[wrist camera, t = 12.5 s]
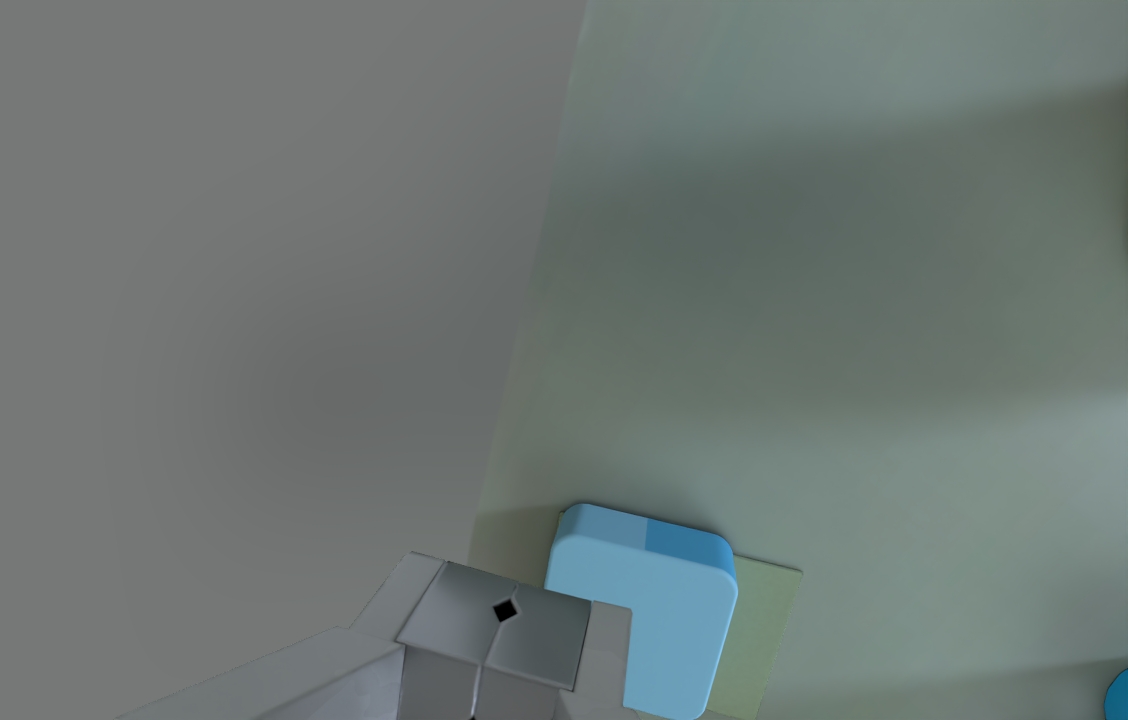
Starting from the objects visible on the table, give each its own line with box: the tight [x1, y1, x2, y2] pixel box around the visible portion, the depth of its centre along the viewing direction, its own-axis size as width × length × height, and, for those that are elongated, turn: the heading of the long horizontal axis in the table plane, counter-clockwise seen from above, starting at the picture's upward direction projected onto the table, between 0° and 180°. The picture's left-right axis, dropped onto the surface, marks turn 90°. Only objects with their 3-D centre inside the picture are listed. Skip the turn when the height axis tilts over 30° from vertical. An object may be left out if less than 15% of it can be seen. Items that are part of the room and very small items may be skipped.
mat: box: [556, 512, 803, 720], centre depth 46 cm, size 17×13×1 cm
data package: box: [544, 504, 738, 720], centre depth 43 cm, size 12×4×12 cm
